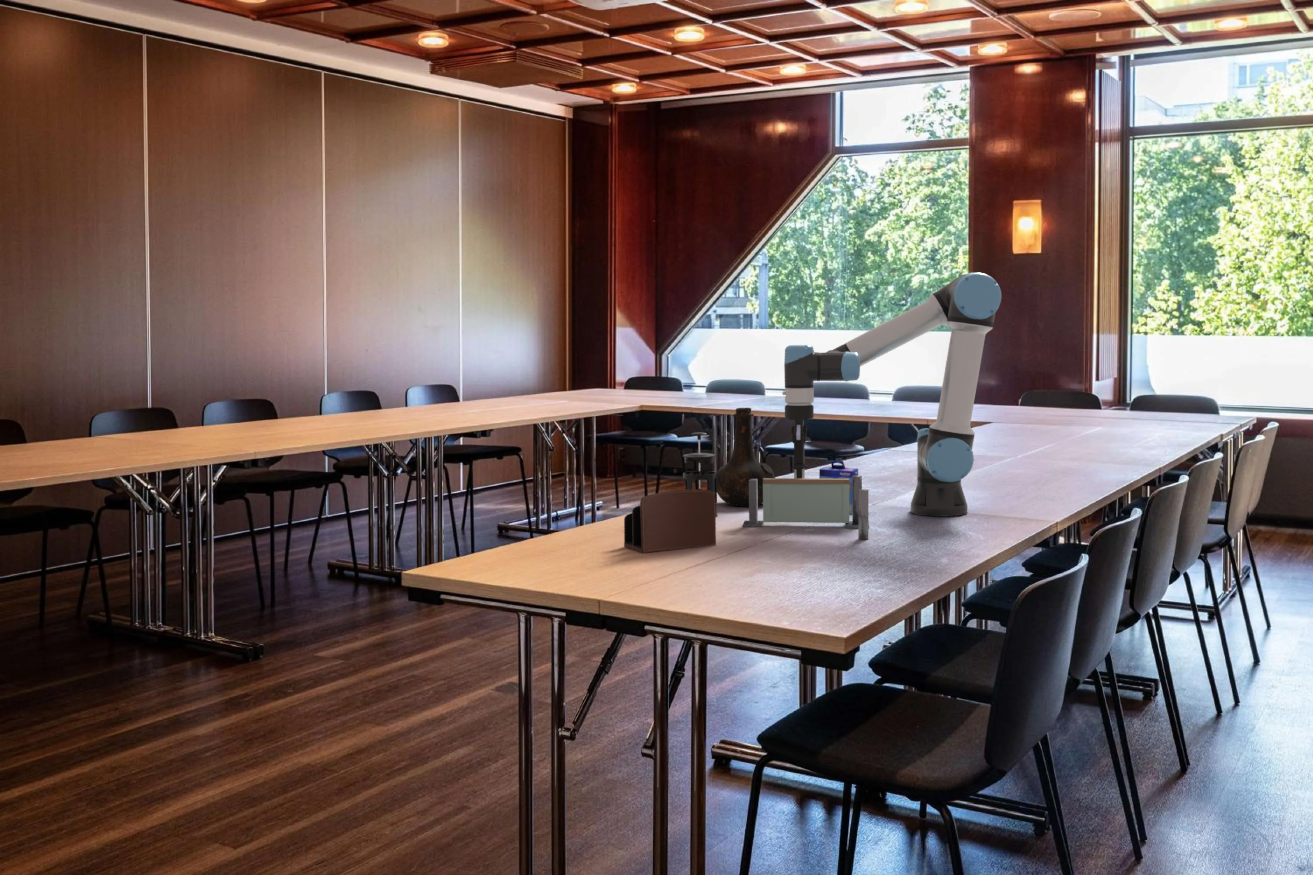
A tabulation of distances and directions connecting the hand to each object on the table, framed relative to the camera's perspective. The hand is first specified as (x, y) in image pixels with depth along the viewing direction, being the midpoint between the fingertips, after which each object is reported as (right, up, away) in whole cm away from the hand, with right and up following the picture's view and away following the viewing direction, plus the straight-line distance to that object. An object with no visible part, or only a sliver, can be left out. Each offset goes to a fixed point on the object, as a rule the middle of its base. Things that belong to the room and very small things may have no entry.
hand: (799, 493), depth 327 cm
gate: (+1, -7, -7) cm, 10 cm away
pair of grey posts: (0, -9, -15) cm, 17 cm away
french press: (-25, -7, +12) cm, 29 cm away
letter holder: (-34, -12, -32) cm, 48 cm away
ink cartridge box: (+13, -6, +14) cm, 20 cm away
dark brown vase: (-12, -5, +32) cm, 34 cm away
